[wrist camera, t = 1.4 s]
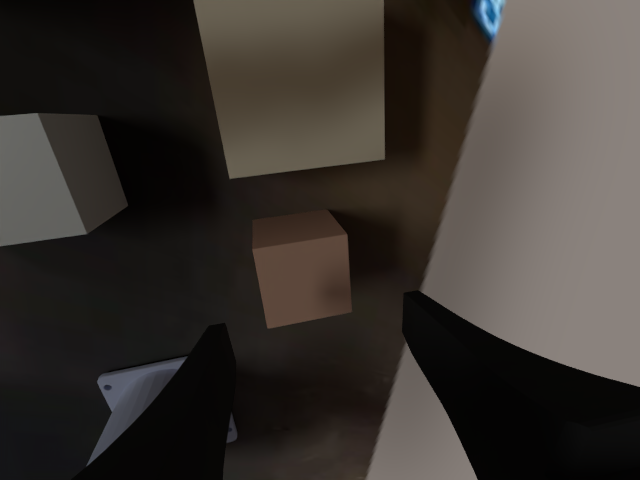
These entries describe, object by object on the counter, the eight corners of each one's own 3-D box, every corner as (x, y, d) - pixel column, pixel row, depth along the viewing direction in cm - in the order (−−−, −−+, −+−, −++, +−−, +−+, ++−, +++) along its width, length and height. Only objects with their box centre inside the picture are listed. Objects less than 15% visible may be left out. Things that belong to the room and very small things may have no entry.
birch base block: (360, 152, 20) (384, 159, 16) (234, 167, 18) (229, 178, 15) (354, 1, 17) (383, -33, 13) (203, 7, 15) (187, -28, 12)
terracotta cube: (332, 273, 23) (351, 312, 18) (264, 285, 22) (267, 328, 17) (326, 208, 21) (347, 234, 16) (252, 219, 20) (252, 249, 15)
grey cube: (128, 205, 18) (86, 233, 14) (35, 217, 17) (-43, 252, 13) (98, 115, 16) (37, 112, 12) (-9, 124, 15) (-119, 126, 11)
